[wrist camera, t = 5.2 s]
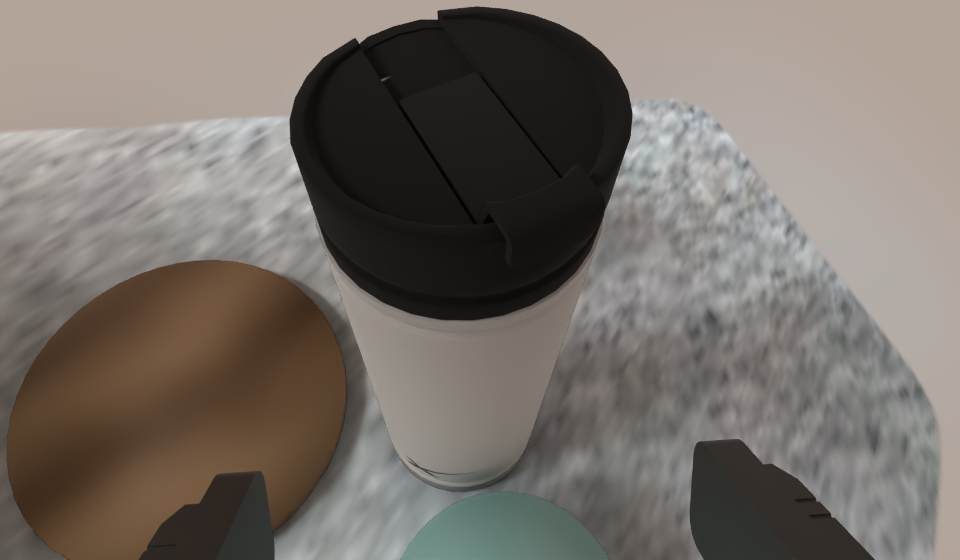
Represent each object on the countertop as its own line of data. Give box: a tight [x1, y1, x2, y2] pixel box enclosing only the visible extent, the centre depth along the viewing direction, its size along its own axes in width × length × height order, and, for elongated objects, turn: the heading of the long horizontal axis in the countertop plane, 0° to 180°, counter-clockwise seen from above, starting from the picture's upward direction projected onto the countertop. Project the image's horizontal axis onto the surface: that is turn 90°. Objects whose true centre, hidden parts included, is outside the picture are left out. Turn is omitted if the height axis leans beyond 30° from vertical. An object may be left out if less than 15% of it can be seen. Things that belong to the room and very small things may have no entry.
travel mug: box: [290, 7, 633, 492], centre depth 20 cm, size 6×7×20 cm
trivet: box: [7, 260, 347, 560], centre depth 28 cm, size 14×14×1 cm
